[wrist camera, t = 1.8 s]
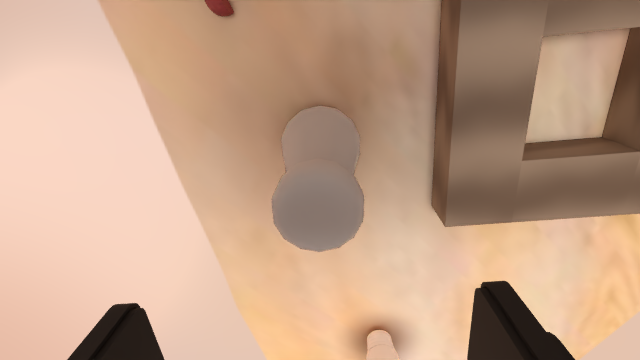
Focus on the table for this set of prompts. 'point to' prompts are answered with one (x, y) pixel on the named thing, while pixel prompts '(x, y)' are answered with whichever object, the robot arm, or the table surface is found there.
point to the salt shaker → (319, 181)
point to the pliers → (220, 7)
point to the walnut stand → (513, 116)
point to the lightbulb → (380, 346)
